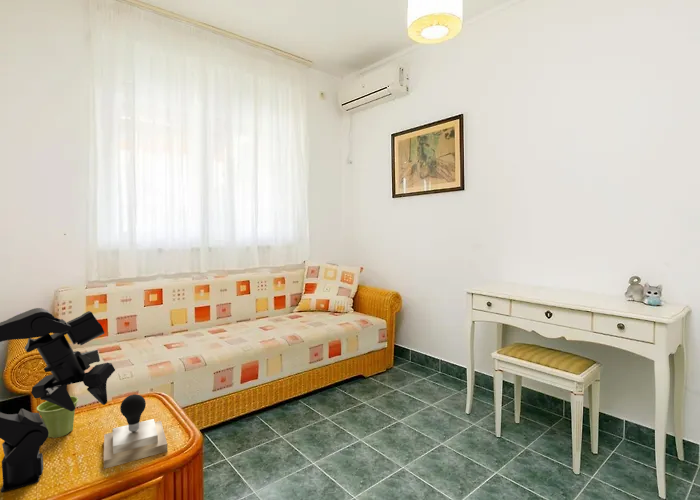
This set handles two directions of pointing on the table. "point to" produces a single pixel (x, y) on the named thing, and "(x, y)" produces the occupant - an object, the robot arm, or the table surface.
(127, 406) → the light bulb
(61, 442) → the table surface
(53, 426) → the plant pot
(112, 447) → the stepped stand
